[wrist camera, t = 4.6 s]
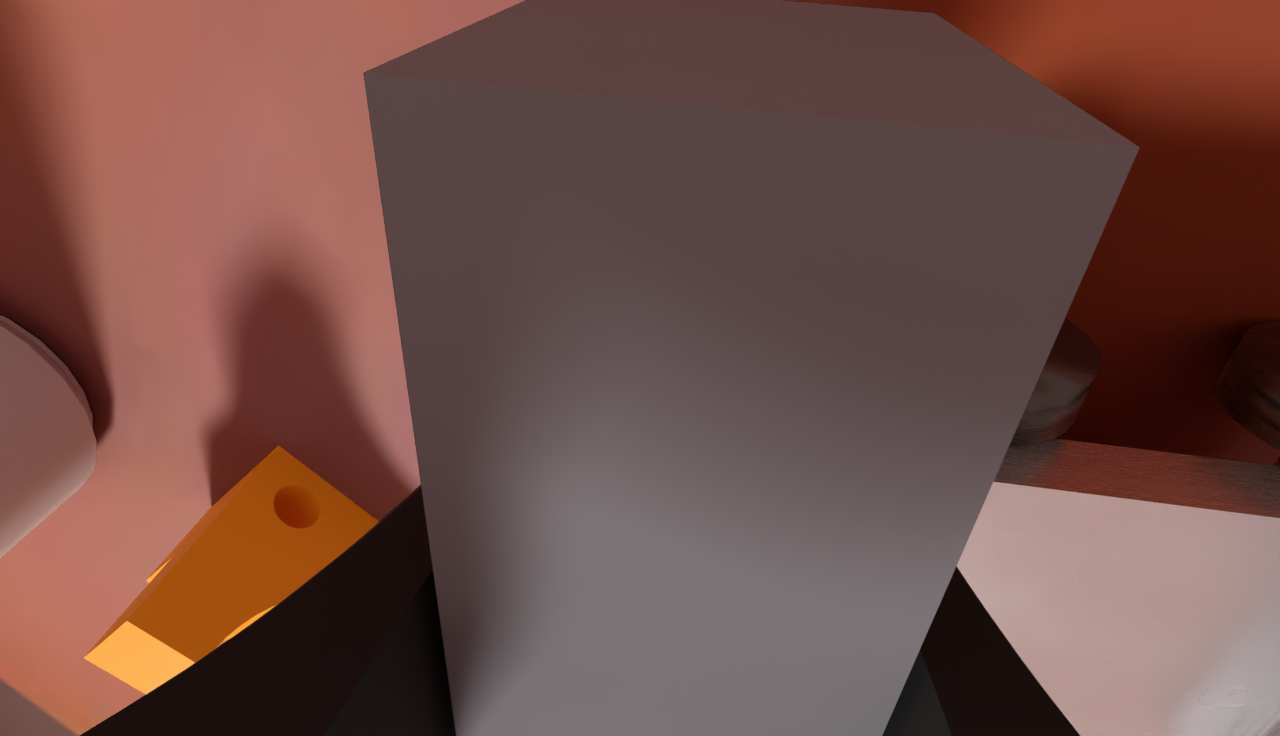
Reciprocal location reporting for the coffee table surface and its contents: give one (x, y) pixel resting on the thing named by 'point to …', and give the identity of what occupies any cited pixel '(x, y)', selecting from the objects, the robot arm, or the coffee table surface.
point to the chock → (717, 345)
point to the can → (38, 433)
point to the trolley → (1139, 560)
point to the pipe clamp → (231, 570)
